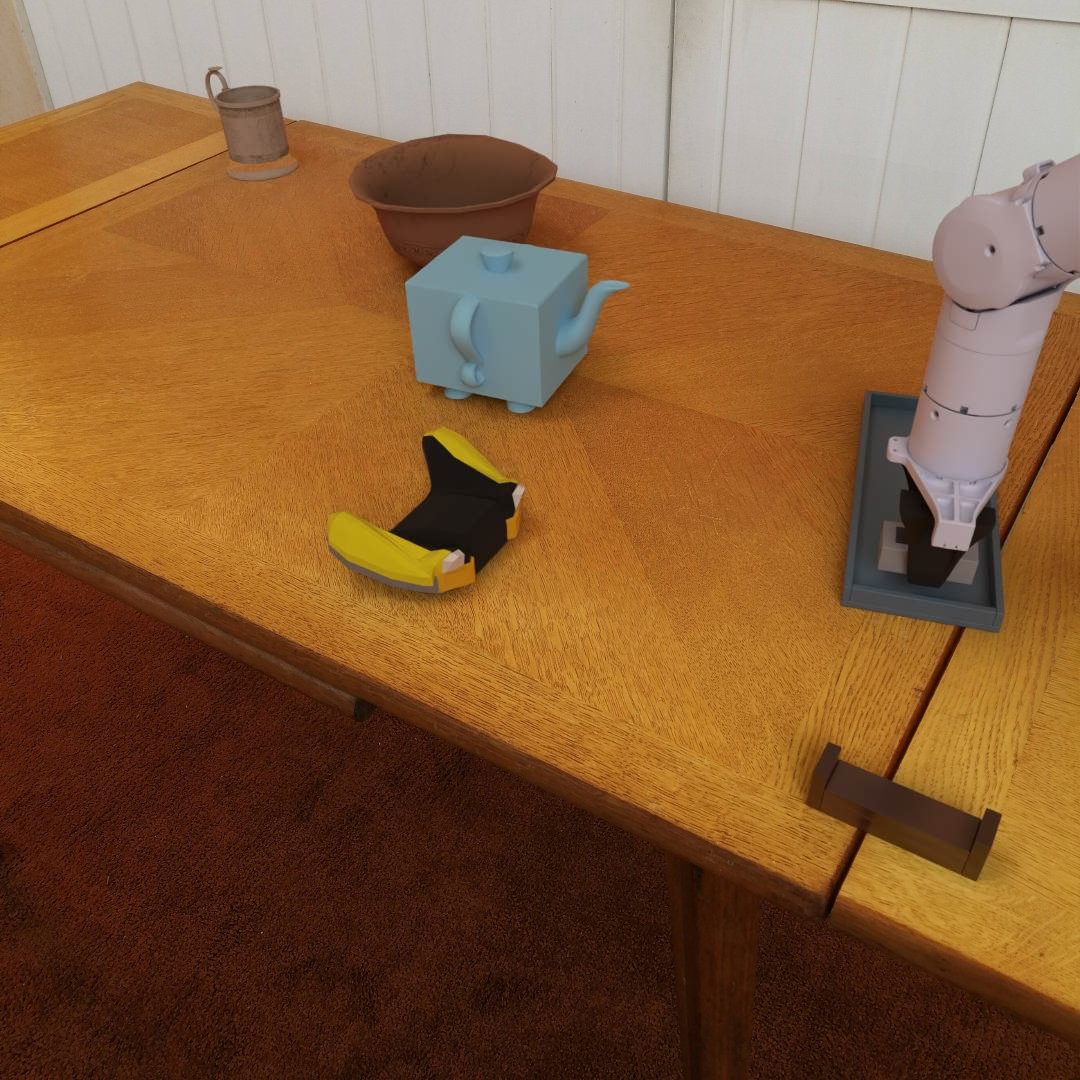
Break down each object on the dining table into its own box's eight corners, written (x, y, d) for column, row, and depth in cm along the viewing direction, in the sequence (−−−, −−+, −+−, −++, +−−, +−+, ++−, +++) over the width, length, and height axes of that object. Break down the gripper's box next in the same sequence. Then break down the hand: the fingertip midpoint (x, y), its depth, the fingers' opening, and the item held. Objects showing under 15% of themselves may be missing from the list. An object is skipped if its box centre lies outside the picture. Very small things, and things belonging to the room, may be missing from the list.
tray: (985, 422, 84) (990, 404, 83) (998, 633, 65) (1005, 614, 64) (862, 406, 87) (866, 389, 85) (840, 605, 68) (844, 587, 66)
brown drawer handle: (987, 847, 53) (1002, 813, 51) (976, 882, 51) (991, 848, 50) (820, 774, 57) (828, 741, 55) (805, 805, 55) (812, 771, 53)
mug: (312, 165, 139) (296, 72, 131) (254, 185, 133) (233, 90, 125) (251, 145, 146) (232, 56, 139) (193, 163, 141) (170, 72, 133)
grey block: (970, 556, 68) (978, 532, 67) (971, 585, 66) (979, 560, 64) (878, 542, 69) (884, 518, 68) (876, 569, 67) (882, 545, 66)
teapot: (404, 410, 88) (385, 273, 80) (483, 332, 99) (474, 204, 91) (593, 453, 82) (594, 309, 74) (655, 365, 93) (662, 231, 85)
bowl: (547, 220, 121) (544, 127, 114) (573, 301, 104) (572, 197, 97) (364, 234, 119) (350, 140, 112) (360, 319, 102) (343, 214, 95)
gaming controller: (322, 582, 71) (438, 629, 67) (308, 521, 68) (429, 567, 64) (442, 473, 81) (549, 508, 77) (435, 415, 77) (547, 448, 73)
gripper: (905, 327, 65) (869, 494, 74) (898, 449, 55) (856, 626, 63) (1021, 339, 64) (970, 508, 72) (1037, 467, 53) (974, 647, 62)
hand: (924, 565), depth 68 cm, fingers closed on grey block, 3 cm apart
